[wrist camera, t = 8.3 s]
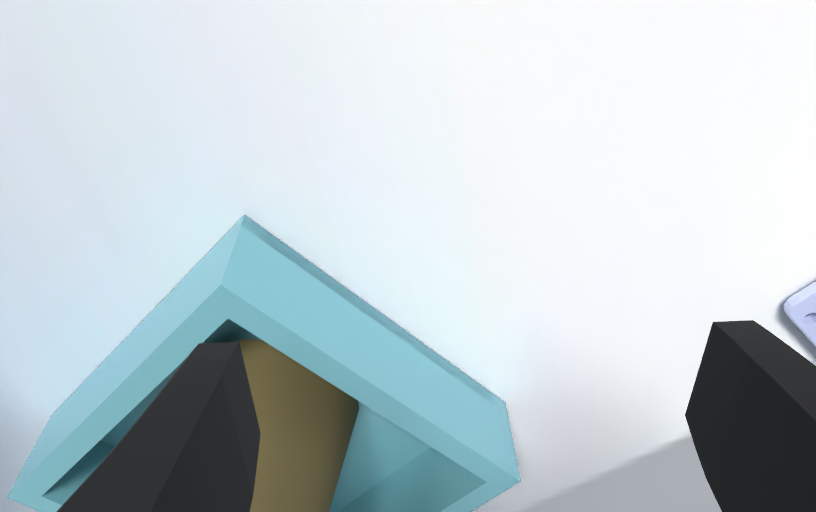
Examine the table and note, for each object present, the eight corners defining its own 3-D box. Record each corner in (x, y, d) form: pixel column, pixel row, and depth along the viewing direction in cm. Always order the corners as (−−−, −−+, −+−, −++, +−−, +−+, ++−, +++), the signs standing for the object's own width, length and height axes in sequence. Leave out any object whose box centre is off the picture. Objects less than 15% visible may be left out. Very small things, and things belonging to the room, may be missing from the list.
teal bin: (505, 402, 25) (520, 481, 22) (302, 540, 30) (293, 620, 27) (244, 214, 20) (220, 284, 17) (51, 416, 25) (6, 497, 22)
